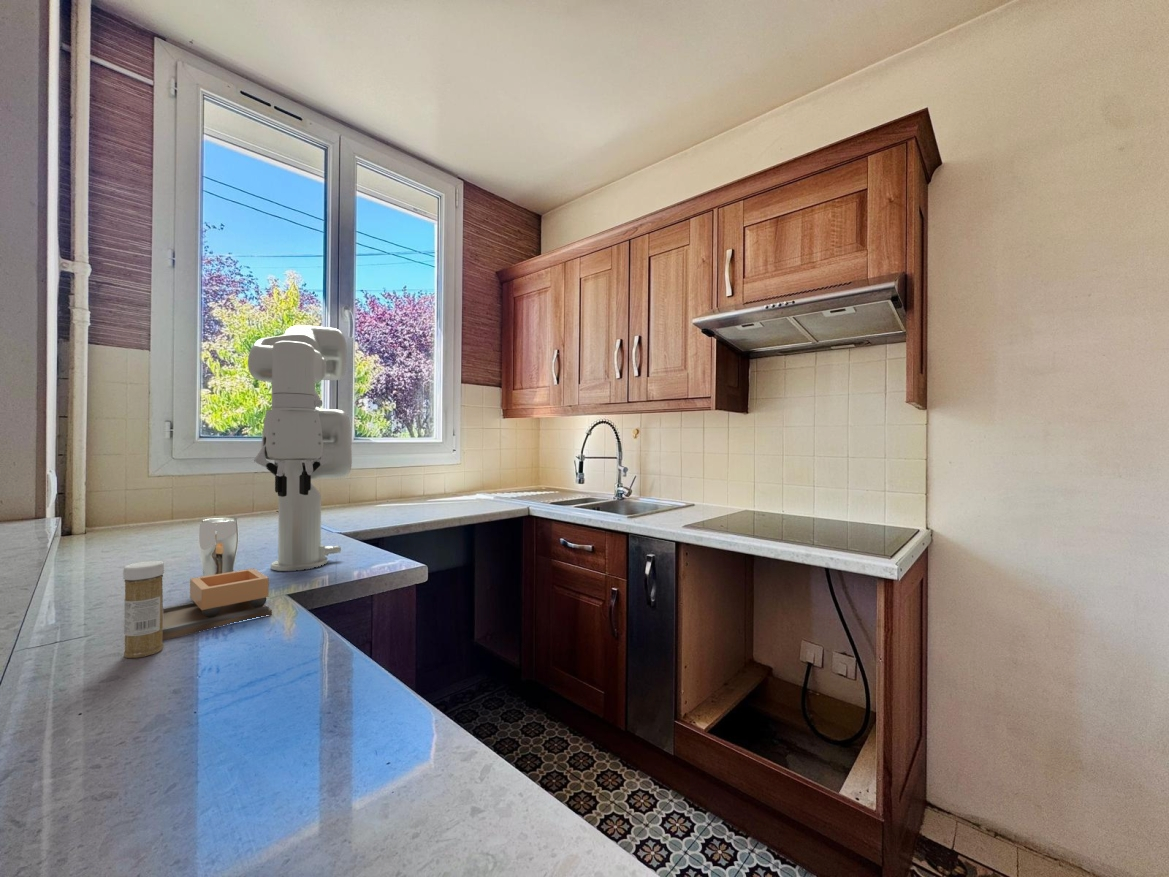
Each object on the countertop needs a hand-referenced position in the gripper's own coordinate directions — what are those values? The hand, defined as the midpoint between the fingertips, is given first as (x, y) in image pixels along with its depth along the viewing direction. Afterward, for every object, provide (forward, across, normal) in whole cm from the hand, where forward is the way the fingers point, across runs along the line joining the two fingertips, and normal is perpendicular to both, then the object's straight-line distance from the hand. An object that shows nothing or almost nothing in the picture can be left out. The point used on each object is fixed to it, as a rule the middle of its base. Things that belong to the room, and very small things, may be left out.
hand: (293, 494), depth 99 cm
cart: (+20, +10, 0) cm, 23 cm away
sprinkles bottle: (+21, +24, +11) cm, 34 cm away
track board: (+21, +14, 0) cm, 26 cm away
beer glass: (+21, +8, -19) cm, 30 cm away
